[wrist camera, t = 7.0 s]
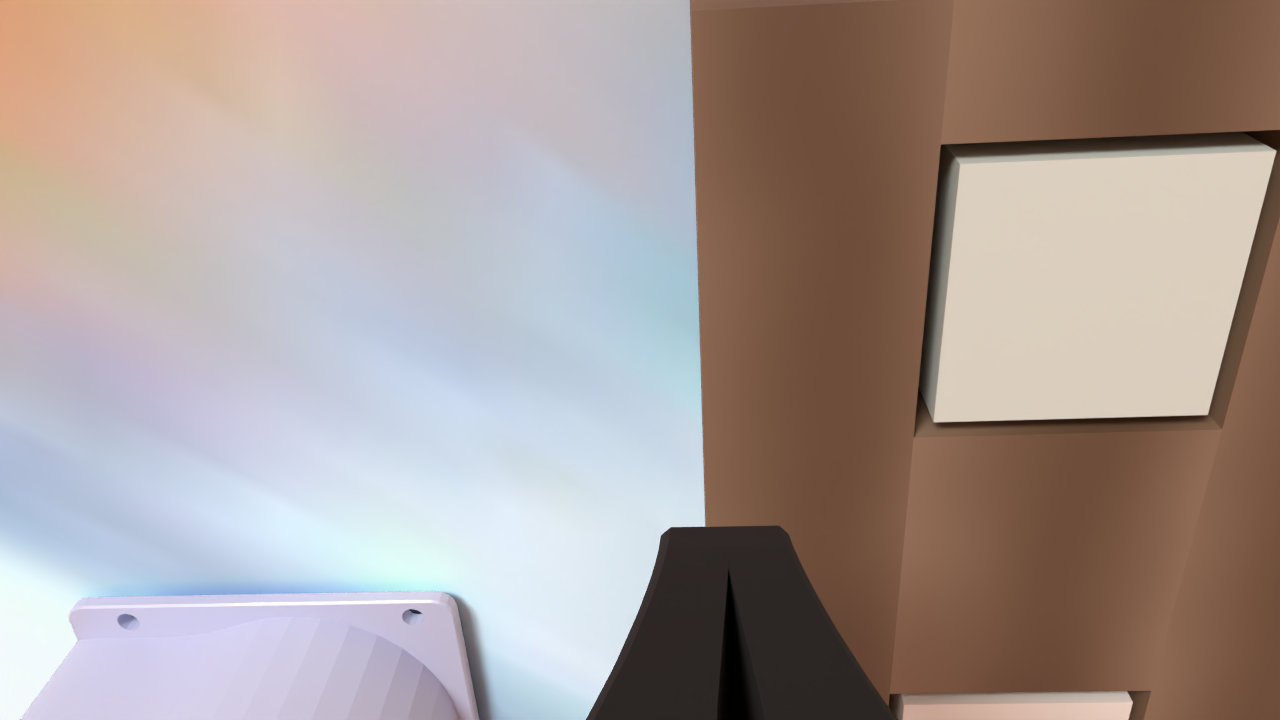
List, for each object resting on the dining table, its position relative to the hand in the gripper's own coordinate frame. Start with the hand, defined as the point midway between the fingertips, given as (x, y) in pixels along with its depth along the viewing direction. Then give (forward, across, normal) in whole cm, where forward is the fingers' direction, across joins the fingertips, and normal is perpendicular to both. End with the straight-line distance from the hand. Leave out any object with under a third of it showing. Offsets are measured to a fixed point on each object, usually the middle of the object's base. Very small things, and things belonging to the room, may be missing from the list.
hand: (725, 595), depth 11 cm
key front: (+8, -6, -1) cm, 10 cm away
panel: (+9, -6, +4) cm, 12 cm away
